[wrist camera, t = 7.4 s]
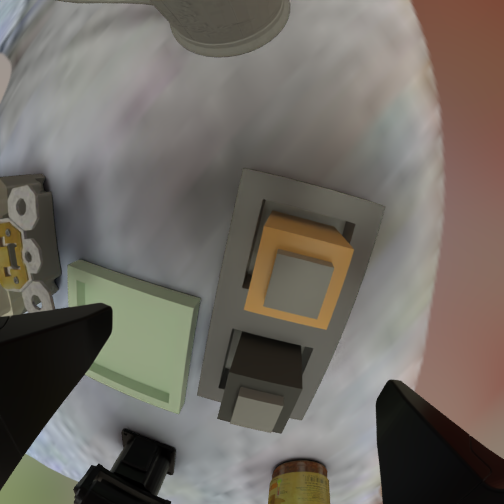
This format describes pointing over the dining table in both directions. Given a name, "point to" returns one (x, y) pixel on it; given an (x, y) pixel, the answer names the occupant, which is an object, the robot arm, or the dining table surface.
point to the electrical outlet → (27, 246)
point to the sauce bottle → (299, 484)
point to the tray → (139, 334)
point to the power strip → (242, 265)
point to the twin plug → (262, 383)
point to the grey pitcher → (219, 23)
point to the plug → (298, 270)
